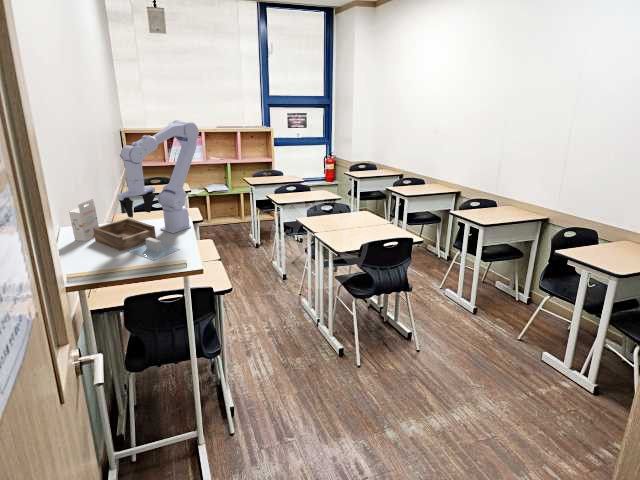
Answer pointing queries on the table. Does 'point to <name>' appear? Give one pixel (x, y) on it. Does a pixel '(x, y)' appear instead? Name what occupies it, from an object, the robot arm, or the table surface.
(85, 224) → the ink cartridge box
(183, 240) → the table surface
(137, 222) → the walnut box
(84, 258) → the table surface
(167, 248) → the cover plate
